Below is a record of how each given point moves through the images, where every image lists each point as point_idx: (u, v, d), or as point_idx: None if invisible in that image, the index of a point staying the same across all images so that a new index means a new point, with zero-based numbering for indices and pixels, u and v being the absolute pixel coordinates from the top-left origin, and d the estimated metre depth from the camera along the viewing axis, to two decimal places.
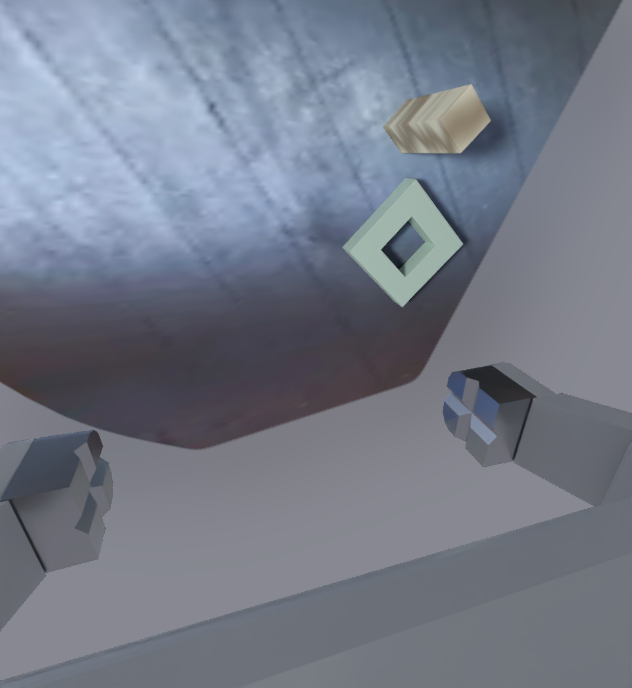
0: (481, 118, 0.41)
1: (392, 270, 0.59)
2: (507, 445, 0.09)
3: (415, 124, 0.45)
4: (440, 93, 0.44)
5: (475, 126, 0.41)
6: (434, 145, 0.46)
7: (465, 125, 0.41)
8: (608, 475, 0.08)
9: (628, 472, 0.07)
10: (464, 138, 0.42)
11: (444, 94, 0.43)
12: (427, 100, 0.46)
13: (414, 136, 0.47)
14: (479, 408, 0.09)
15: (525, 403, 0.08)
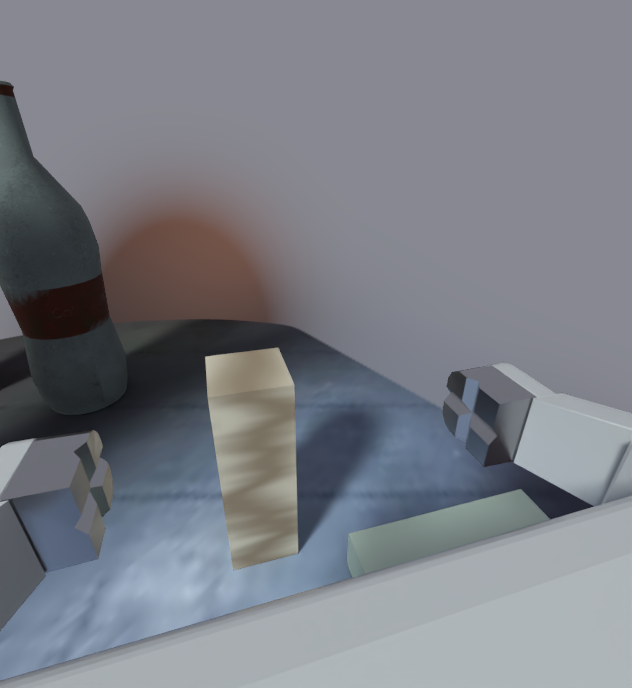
0: (264, 355, 0.23)
1: None
2: (507, 445, 0.09)
3: (222, 474, 0.22)
4: None
5: (268, 362, 0.23)
6: (277, 451, 0.22)
7: (254, 371, 0.22)
8: (609, 475, 0.08)
9: (628, 472, 0.07)
10: (274, 376, 0.21)
11: None
12: None
13: (253, 494, 0.23)
14: (479, 408, 0.09)
15: (525, 403, 0.08)
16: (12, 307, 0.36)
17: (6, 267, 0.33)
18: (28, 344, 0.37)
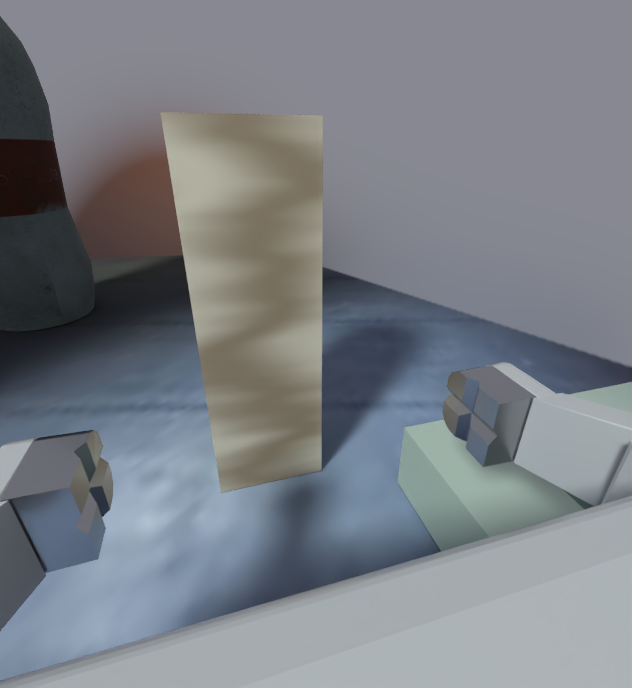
0: None
1: None
2: (507, 445, 0.09)
3: (196, 300, 0.13)
4: None
5: None
6: (291, 266, 0.13)
7: None
8: (609, 476, 0.08)
9: (628, 472, 0.07)
10: None
11: None
12: None
13: (251, 351, 0.14)
14: (480, 408, 0.09)
15: (525, 403, 0.08)
16: None
17: None
18: None
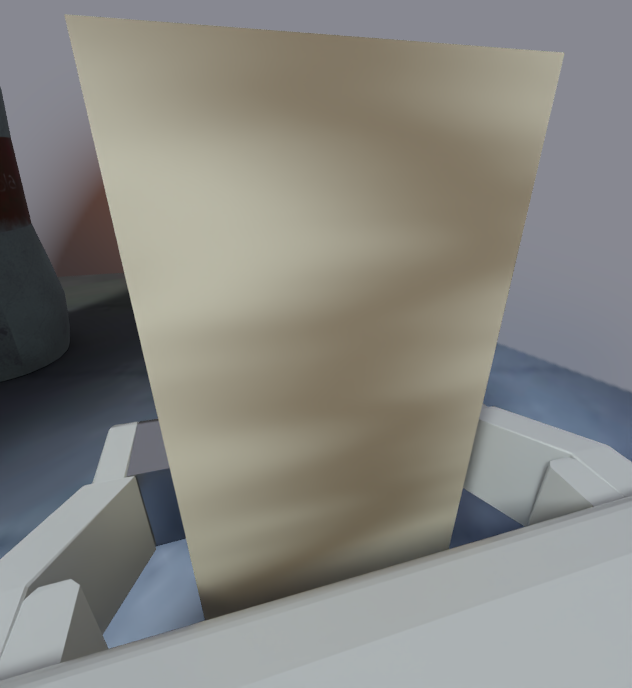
0: None
1: None
2: None
3: (196, 516, 0.05)
4: None
5: None
6: (416, 421, 0.06)
7: None
8: (536, 495, 0.07)
9: (547, 494, 0.06)
10: None
11: None
12: None
13: (313, 580, 0.07)
14: None
15: None
16: None
17: None
18: None
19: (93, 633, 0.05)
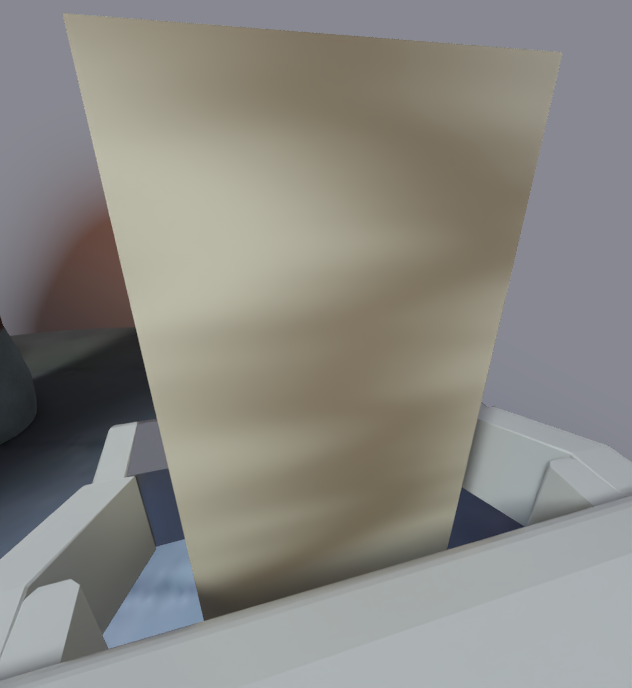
0: None
1: None
2: None
3: (195, 515, 0.05)
4: None
5: None
6: (416, 420, 0.06)
7: None
8: (536, 495, 0.07)
9: (547, 494, 0.06)
10: None
11: None
12: None
13: (311, 579, 0.07)
14: None
15: None
16: None
17: None
18: None
19: (93, 633, 0.05)
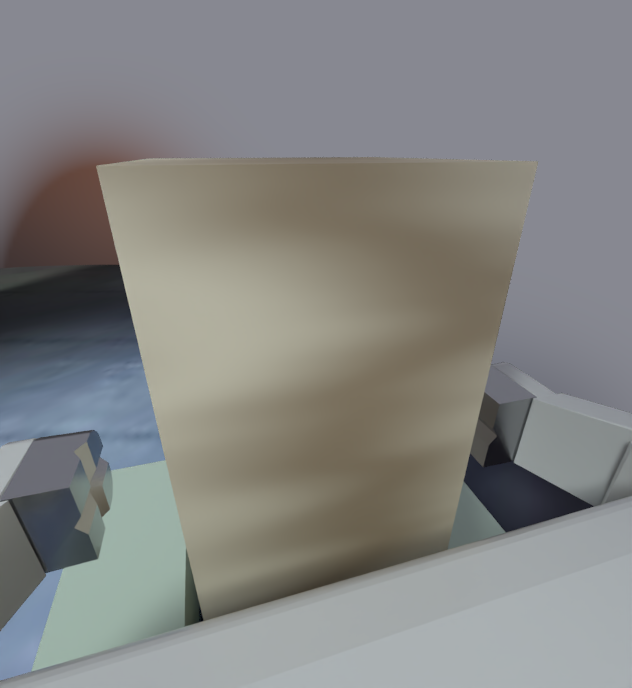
0: None
1: None
2: (507, 445, 0.09)
3: (204, 564, 0.06)
4: None
5: (367, 158, 0.06)
6: (408, 473, 0.06)
7: None
8: (609, 476, 0.08)
9: (628, 472, 0.07)
10: (416, 160, 0.05)
11: None
12: None
13: None
14: None
15: (525, 403, 0.08)
16: None
17: None
18: None
19: None
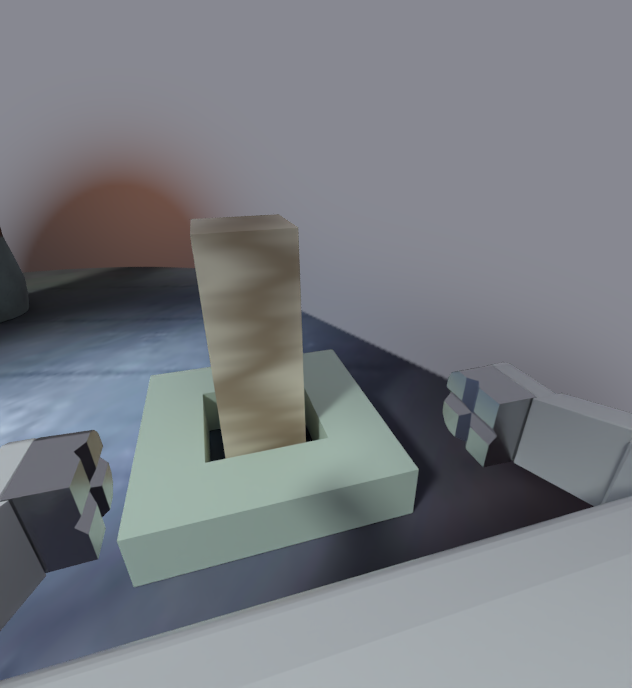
0: (261, 217, 0.20)
1: (285, 456, 0.19)
2: (507, 445, 0.09)
3: (212, 350, 0.18)
4: None
5: (267, 219, 0.19)
6: (279, 324, 0.18)
7: (249, 223, 0.18)
8: (609, 475, 0.08)
9: (628, 472, 0.07)
10: (273, 224, 0.17)
11: None
12: None
13: (251, 383, 0.19)
14: (479, 408, 0.09)
15: (525, 403, 0.08)
16: None
17: None
18: None
19: None
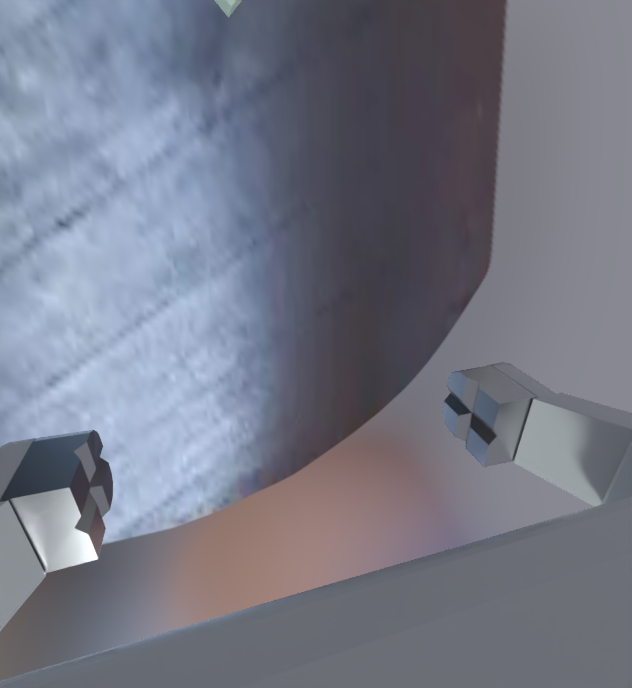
0: None
1: None
2: (507, 445, 0.09)
3: None
4: None
5: None
6: None
7: None
8: (609, 475, 0.08)
9: (628, 472, 0.07)
10: None
11: None
12: None
13: None
14: (480, 408, 0.09)
15: (525, 403, 0.08)
16: None
17: None
18: None
19: None
